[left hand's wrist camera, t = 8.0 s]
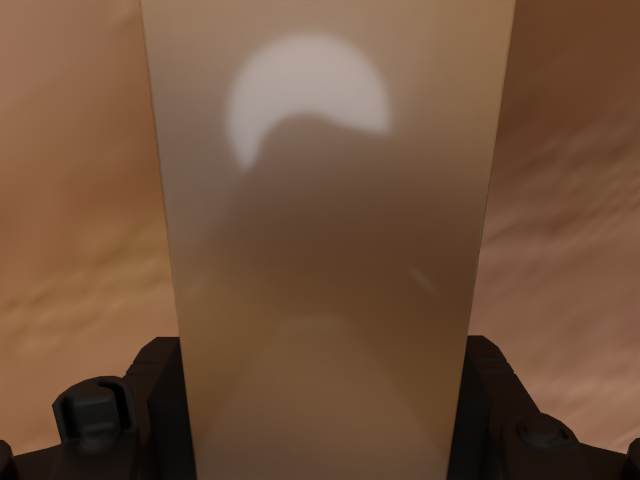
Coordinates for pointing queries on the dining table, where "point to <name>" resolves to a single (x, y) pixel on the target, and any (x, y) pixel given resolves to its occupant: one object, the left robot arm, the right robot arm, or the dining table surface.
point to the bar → (324, 223)
